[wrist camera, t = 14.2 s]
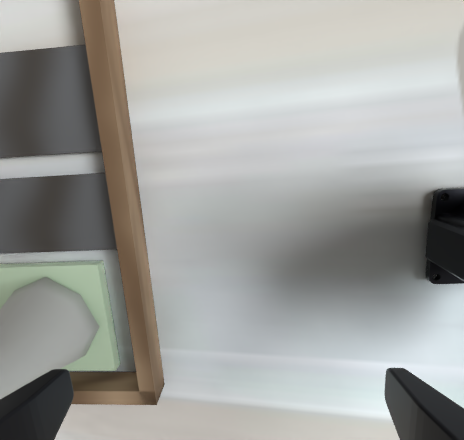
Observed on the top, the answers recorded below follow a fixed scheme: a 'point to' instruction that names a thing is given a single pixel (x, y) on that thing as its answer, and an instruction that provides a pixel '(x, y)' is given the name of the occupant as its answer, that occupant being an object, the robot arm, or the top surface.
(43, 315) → the flask
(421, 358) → the top surface
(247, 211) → the top surface
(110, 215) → the box
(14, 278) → the pad
